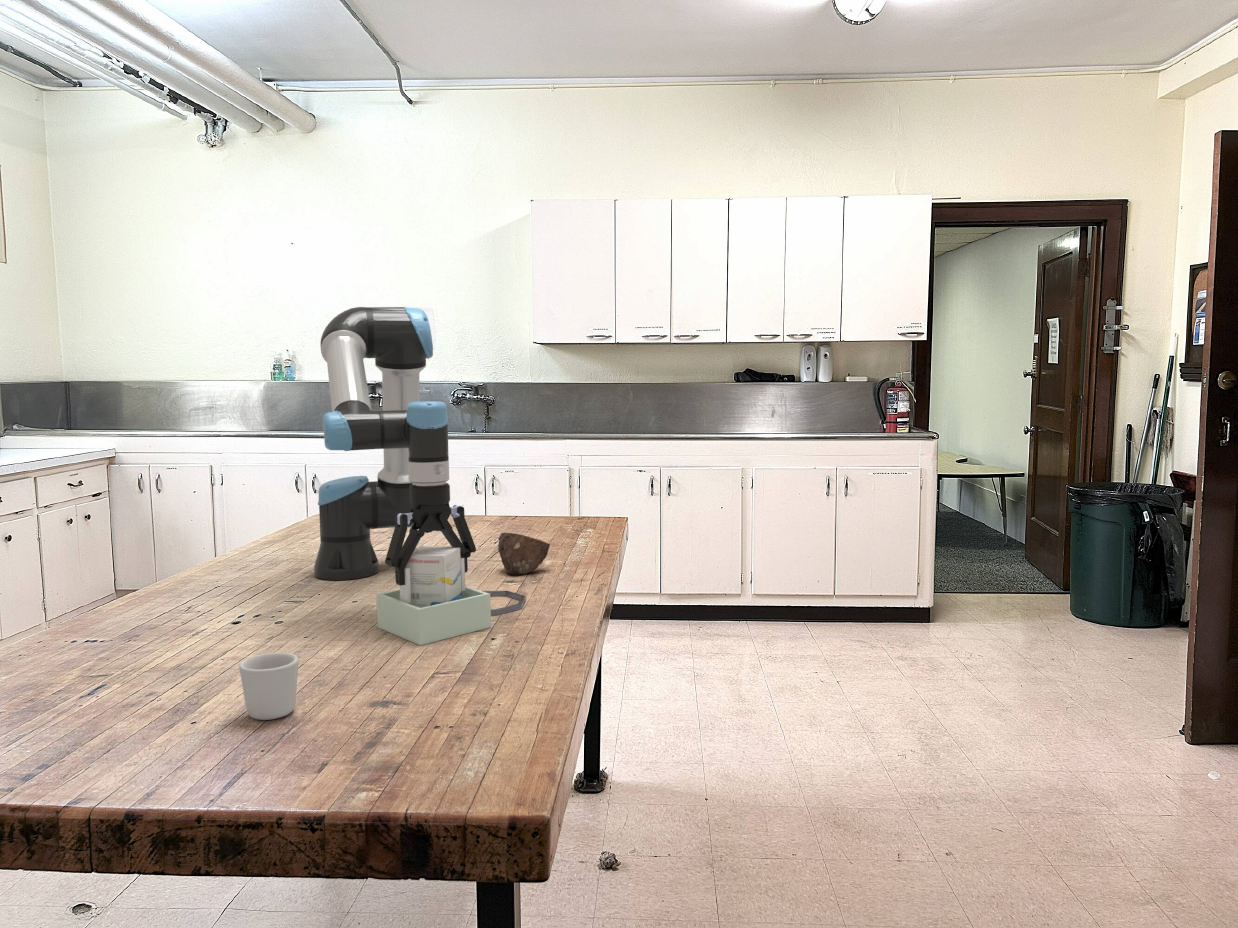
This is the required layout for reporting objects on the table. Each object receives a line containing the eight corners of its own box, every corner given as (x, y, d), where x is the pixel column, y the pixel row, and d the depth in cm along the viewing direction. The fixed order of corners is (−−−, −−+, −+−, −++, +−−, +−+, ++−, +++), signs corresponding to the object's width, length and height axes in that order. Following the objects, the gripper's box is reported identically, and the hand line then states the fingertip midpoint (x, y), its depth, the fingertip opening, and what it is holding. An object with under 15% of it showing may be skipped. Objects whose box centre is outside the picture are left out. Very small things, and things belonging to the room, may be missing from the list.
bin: (377, 627, 171) (376, 593, 170) (446, 611, 182) (445, 579, 181) (420, 645, 160) (418, 609, 159) (491, 627, 170) (490, 593, 170)
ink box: (463, 604, 174) (461, 545, 172) (446, 616, 165) (444, 555, 164) (422, 602, 175) (420, 544, 174) (403, 614, 167) (401, 553, 166)
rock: (549, 548, 220) (551, 532, 211) (540, 586, 215) (541, 571, 206) (501, 536, 220) (501, 520, 211) (490, 574, 215) (490, 559, 206)
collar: (434, 604, 187) (434, 600, 187) (495, 591, 197) (495, 586, 197) (477, 619, 175) (477, 614, 175) (538, 604, 186) (538, 600, 186)
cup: (258, 697, 135) (255, 646, 134) (311, 695, 136) (309, 645, 135) (234, 725, 125) (231, 671, 124) (292, 723, 125) (289, 669, 124)
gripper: (382, 491, 157) (387, 611, 159) (492, 478, 173) (495, 587, 175) (362, 487, 162) (367, 603, 165) (470, 475, 178) (473, 581, 181)
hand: (433, 595), depth 170 cm, fingers closed on ink box, 11 cm apart
